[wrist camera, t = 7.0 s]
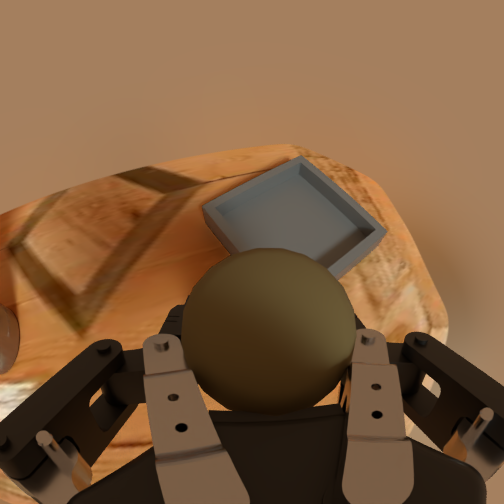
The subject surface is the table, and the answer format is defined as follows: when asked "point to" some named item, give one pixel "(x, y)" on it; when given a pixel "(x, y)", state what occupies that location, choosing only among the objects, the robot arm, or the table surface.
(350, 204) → the tray
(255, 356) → the cork
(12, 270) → the table surface
